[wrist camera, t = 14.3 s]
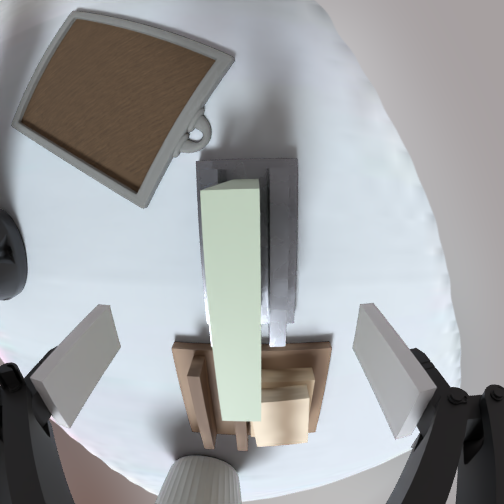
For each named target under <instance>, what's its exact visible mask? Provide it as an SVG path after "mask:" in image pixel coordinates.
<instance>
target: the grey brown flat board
mask: <svg viewBox="0 0 504 504" xmlns="http://www.w3.org/2000/svg"><path fill="white" fill-rule="evenodd" d="M234 61H235V60H234V57H232V56H231V55H228V54H226V53H224V52H222V51H219V50H217V49H215V48H212V47H210V46H207V45H205V44H202V43H199V42H197V41H194V40H191V39H189V38H186V37H183V36H180V35H177V34H174V33H171V32H168V31H165V30H162V29H159V28H155V27H152V26H148V25H145V24H141V23H137V22H133V21H129V20H125V19H120V18H116V17H111V16H106V15H100V14H94V13H88V12H81V11H72V12H71V14H70V15H69V16H68V18H67V19H66V20H65V22H64V23H63V25H62V26H61V28H60V29H59V31H58V32H57V34H56V35H55V37H54V38H53V40H52V42H51V43H50V45H49V47H48V48H47V50H46V52H45V53H44V55H43V57H42V59H41V60H40V62H39V64H38V66H37V68H36V70H35V72H34V74H33V76H32V78H31V80H30V82H29V84H28V86H27V88H26V90H25V92H24V95H23V97H22V99H21V101H20V104H19V106H18V109H17V111H16V114H15V116H14V119H13V121H12V124H11V126H12V127H13V128H15V129H16V130H18V131H19V132H21V133H22V134H24V135H25V136H27V137H29V138H30V139H32V140H33V141H35V142H36V143H38V144H39V145H41V146H43V147H44V148H46V149H47V150H49V151H50V152H52V153H53V154H55V155H57V156H58V157H60V158H61V159H63V160H64V161H66V162H68V163H69V164H71V165H72V166H74V167H76V168H77V169H79V170H80V171H82V172H84V173H85V174H87V175H88V176H90V177H92V178H93V179H95V180H96V181H98V182H100V183H101V184H103V185H105V186H106V187H108V188H109V189H111V190H113V191H114V192H116V193H118V194H119V195H121V196H122V197H124V198H126V199H127V200H129V201H131V202H132V203H134V204H136V205H137V206H139V207H141V208H143V209H144V208H147V207H148V205H149V203H150V201H151V199H152V197H153V195H154V193H155V191H156V189H157V187H158V185H159V183H160V181H161V179H162V177H163V175H164V174H165V172H166V170H167V168H168V166H169V164H170V162H171V161H172V159H173V157H174V158H176V157H177V156H178V155H179V154H180V152H183V153H194V152H197V151H199V150H201V149H203V148H204V147H205V146H206V145H207V144H208V143H209V141H210V138H211V127H210V125H209V123H208V121H207V120H206V118H205V117H204V116H203V114H204V108H203V107H204V105H205V104H206V102H207V101H208V99H209V97H210V96H211V94H212V93H213V91H214V90H215V89H216V87H217V86H218V84H219V83H220V81H221V80H222V78H223V77H224V75H225V74H226V73H227V71H228V70H229V68H230V67H231V66H232V64H233V63H234ZM195 128H196V129H198V130H200V131H201V132H202V133H203V138H202V140H201V141H200V142H193V141H190V140H188V138H189V134H188V132H192V131H193V130H194V129H195Z"/></svg>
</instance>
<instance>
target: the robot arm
mask: <svg viewBox="0 0 504 504" xmlns="http://www.w3.org/2000/svg"><path fill="white" fill-rule="evenodd" d="M26 278H27V261H26V254H25V249H24V245H23V242H22V239H21V236H20V233H19V231H18V229H17V227H16V225H15V223H14V221H13V220H12V218H11V217H10V216H9V215H8V214H7V213H6V212H5V211H4V210H2V209H0V300H9V299H12V298H13V297H15V296H16V295H18V294H19V293H20V292H21V291H22V290H23V288H24V286H25V283H26ZM120 348H121V345H120V342H119V339H118V335H117V331H116V328H115V324H114V320H113V316H112V312H111V308H110V305H100V304H98V305H97V306H96V307H95V308H94V309H93V310H92V311H91V312H90V313H89V314H88V315H87V316H86V317H85V318H84V319H83V320H82V321H81V322H80V323H79V325H78V326H77V327H76V328H75V329H74V330H73V331H72V332H71V333H70V334H69V335H68V336H67V337H66V338H65V339H64V340H63V341H62V342H61V343H60V344H59V345H58V346H56V347H55V348H53V349H51V350H50V351H48V353H47V354H46V355H45V356H44V357H43V358H42V359H41V360H40V361H39V363H37V365H36V366H35V367H34V368H33V369H32V370H31V371H30V372H29V373H28V375H27V376H26V377H25V378H23V376H22V374H21V372H20V370H19V368H18V366H17V365H16V364H15V363H6V364H3V365H1V366H0V385H1V386H0V504H75V503H74V500H73V498H72V495H71V493H70V490H69V487H68V484H67V481H66V478H65V475H64V472H63V469H62V465H61V462H60V459H59V455H58V451H57V447H56V443H55V439H54V435H53V430H52V426H51V423H50V421H49V418H50V417H51V415H52V417H53V418H54V420H55V421H56V423H57V424H59V425H62V426H64V427H67V428H71V426H72V424H73V422H74V421H75V419H76V417H77V416H78V414H79V412H80V411H81V409H82V407H83V406H84V404H85V402H86V401H87V399H88V397H89V396H90V394H91V393H92V391H93V389H94V388H95V386H96V385H97V383H98V381H99V380H100V378H101V377H102V375H103V374H104V372H105V370H106V369H107V367H108V366H109V364H110V363H111V361H112V360H113V358H114V357H115V355H116V354H117V352H118V351H119V349H120ZM352 348H353V350H354V352H355V354H356V356H357V358H358V360H359V362H360V364H361V366H362V368H363V370H364V373H365V375H366V377H367V379H368V381H369V383H370V385H371V387H372V389H373V391H374V394H375V396H376V398H377V400H378V402H379V404H380V407H381V409H382V411H383V413H384V415H385V418H386V420H387V422H388V424H389V427H390V429H391V431H392V433H393V436H394V438H395V440H396V439H399V438H403V437H406V436H409V435H412V433H413V431H414V430H415V428H416V426H417V427H418V429H419V431H420V434H419V435H418V437H417V438H416V440H415V441H414V443H413V444H412V446H411V448H413V449H412V452H411V454H410V456H409V459H408V461H407V463H406V465H405V468H404V470H403V472H402V474H401V476H400V478H399V480H398V482H397V484H396V486H395V488H394V490H393V492H392V494H391V496H390V497H389V499H388V501H387V503H386V504H445V503H446V501H447V498H448V495H449V492H450V489H451V487H452V483H453V480H454V477H455V474H456V470H457V467H458V478H457V494H456V504H504V388H503V387H501V386H499V385H490V386H488V387H487V388H486V389H485V391H484V393H483V395H476V396H475V395H474V396H469V395H468V394H467V393H466V392H465V391H464V390H462V389H460V388H456V387H450V386H449V385H448V383H447V382H446V381H445V379H444V378H443V377H442V375H441V374H440V373H439V371H438V370H437V369H436V368H435V366H434V365H433V363H432V362H430V360H429V358H428V357H427V356H426V355H425V353H423V352H422V351H420V350H418V349H417V348H414V349H409V348H408V347H407V345H406V344H405V343H404V341H403V340H402V339H401V337H400V336H399V335H398V334H397V332H396V331H395V330H394V328H393V327H392V326H391V325H390V323H389V322H388V321H387V319H386V318H385V317H384V316H383V314H382V313H381V312H380V311H379V309H378V308H377V307H376V306H375V304H374V303H368V304H360V308H359V314H358V320H357V326H356V332H355V337H354V342H353V347H352Z"/></svg>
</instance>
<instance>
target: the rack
mask: <svg viewBox="0 0 504 504" xmlns="http://www.w3.org/2000/svg"><path fill="white" fill-rule="evenodd" d="M331 350H332V347H331V345H330V342H329V341H328V342H312V343H290V344H286V346H284V347H270V346H269V344H261V369H292V368H311V367H312V370H313V374H314V378H315V383H314V389H313V395H312V401H311V407H310V413H309V422H308V433H312V432H315V431H316V427H317V422H318V418H319V414H320V409H321V404H322V400H323V395H324V390H325V384H326V379H327V374H328V368H329V362H330V356H331ZM172 353H173V358H174V362H175V367H176V371H177V376H178V380H179V384H180V388H181V392H182V396H183V400H184V404H185V408H186V412H187V415H188V419H189V422H190V426H191V429H192V432H199V433H200V434H201V438H202V441H203V445H204V448H205V449H215V442H216V435H217V434H229V435H236V441H237V449H238V451H248V435H251V423H250V421H222V416H221V409H220V402H219V395H218V388H217V380H216V373H215V365H214V356H213V348H212V346H211V344H206V343H184V342H174V344H173V346H172Z"/></svg>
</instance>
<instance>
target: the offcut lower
mask: <svg viewBox="0 0 504 504" xmlns="http://www.w3.org/2000/svg"><path fill="white" fill-rule="evenodd" d="M314 383H315V378H314V374H313V370H312V367H311V368H292V369H261V389H262V388H275V387H286V386H295V385H304V384H307V389H308V394H309V413H310V407H311V401H312V395H313V389H314ZM250 423H251V437H255V433H254V428H253V423H252V421H250Z"/></svg>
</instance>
